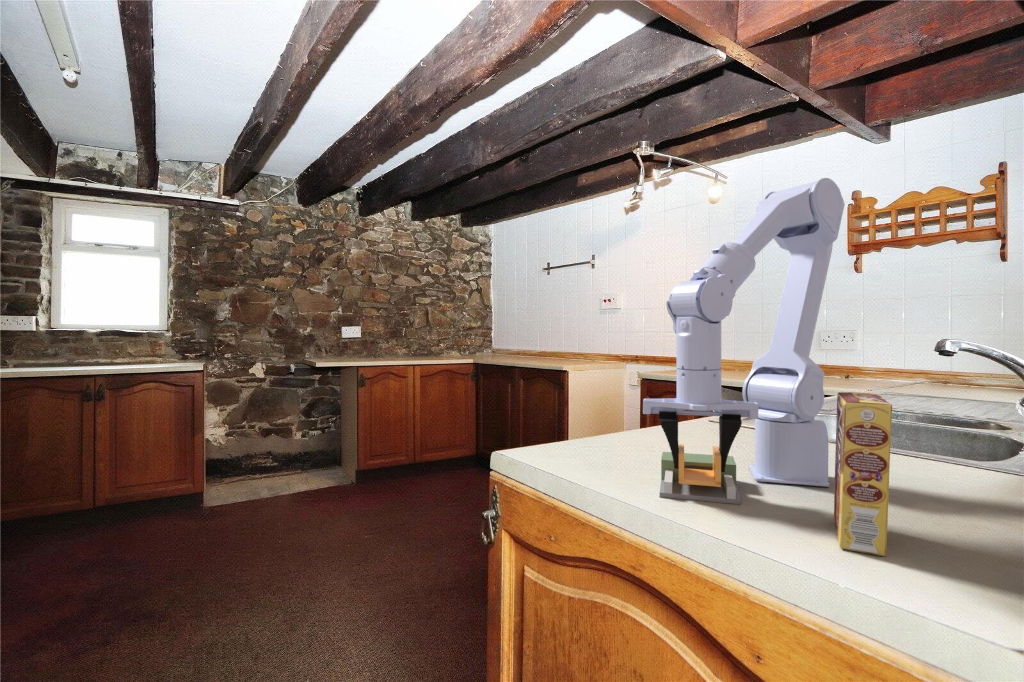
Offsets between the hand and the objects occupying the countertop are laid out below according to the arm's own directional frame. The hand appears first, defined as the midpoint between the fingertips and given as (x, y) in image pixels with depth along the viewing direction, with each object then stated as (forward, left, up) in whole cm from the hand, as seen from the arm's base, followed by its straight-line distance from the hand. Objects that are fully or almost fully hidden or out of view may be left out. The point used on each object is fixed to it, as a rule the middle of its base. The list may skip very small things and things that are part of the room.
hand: (698, 468), depth 70 cm
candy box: (-16, +10, -4) cm, 19 cm away
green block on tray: (0, -3, -3) cm, 5 cm away
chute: (0, 0, -1) cm, 1 cm away
